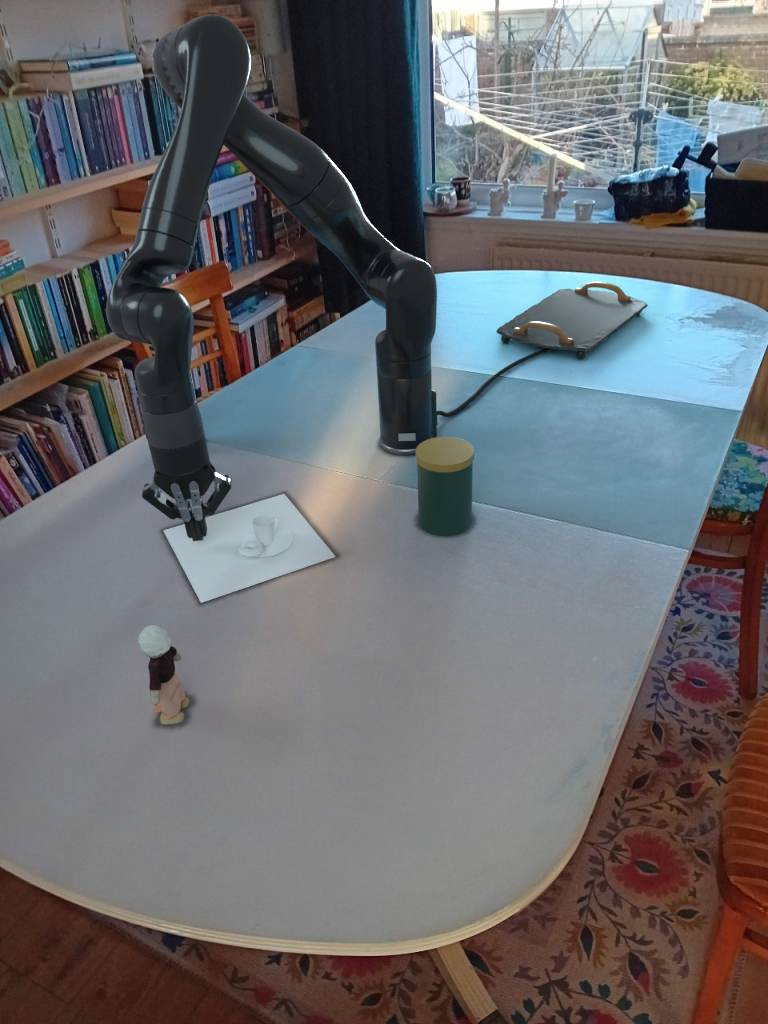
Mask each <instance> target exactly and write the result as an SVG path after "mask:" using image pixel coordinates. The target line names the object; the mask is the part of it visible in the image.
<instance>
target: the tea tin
mask: <svg viewBox="0 0 768 1024" xmlns="http://www.w3.org/2000/svg"><path fill="white" fill-rule="evenodd" d="M415 461H416V466H417V468H416V469H417V470H416V471H417V502H418V503H417V504H418V506H417V507H418V509H417V510H418V523H419V526H420V528H421V529H422V530H424V531H425V532H426V533H429V534H431V535H435V536H442V537H448V536H455V535H458V534H461V533H464V532H465V531H467V530H468V529H469V528H470V527H471V525H472V521H473V469H474V467H473V465H474V463H473V462H474V461H475V448H474V446H473V444H471V443H470V441H469V442H468V441H467V440H465V439H463V438H459V437H454V436H437V437H436V438H431V439H428V440H426V441H423V442H422V443H420V444H419V445H418V446H417V448H416V454H415Z"/></svg>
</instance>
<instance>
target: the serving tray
mask: <svg viewBox="0 0 768 1024" xmlns="http://www.w3.org/2000/svg"><path fill="white" fill-rule="evenodd" d="M590 288H597V289H599V288H600V289H604V290H609V291H603V290H592V289H590ZM610 291H612V292H610ZM648 305H649V304H648V303H647V302H645V301H644V300H641V299H637V298H634V297H632V296H630V295H627V294H626V293H625V292H624V291H623V289H622V288H621V287H620V286H618V285H616V284H613V283H610V282H603V281H590V282H588V283H586V284H584V285H583V286H582V287H575V288H561V289H558V290H557V291H555V292H553V293H552V294H550V295H548V296H547V297H545V298H543V299H542V300H540V301H539V302H538V303H536V304H533V305H532V306H530V307H528V308H527V309H526V310H524V311H523V312H521V313H519V314H517V315H515V317H513V318H512V319H510V320H509V321H507V322H505V323H504V324H502V325H501V326H499V327H498V328H497V329H496V334H497V335H500V341H501V342H502V344H503V345H507V344H509V343H510V342H511V341H515V342H518V343H521V344H525V345H528V346H533V347H538V348H542V349H545V348H549V349H553V350H556V351H557V350H559V351H568V352H569V351H570V352H575V357H576V359H577V360H579V361H582V360H584V359H585V358H586V356H587V352H590V351H592V350H594V349H595V348H596V347H598V346H599V345H601V344H602V343H604V341H605V340H607V339H608V338H609V337H611V336H612V335H613V334H614V333H616V332H618V330H620V328H622V327H623V326H625V325H626V324H627V323H629V322H630V321H631V320H632V319H634V318H635V317H636V316H640V314H642V311H643V310H645V309H646V308H647V307H648Z"/></svg>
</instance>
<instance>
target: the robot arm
mask: <svg viewBox="0 0 768 1024" xmlns="http://www.w3.org/2000/svg"><path fill="white" fill-rule="evenodd" d="M250 51H251V50H250V47H249V44H248V42H247V39H246V37H245V35H244V34H243V32H242V30H241V29H240V28H239V26H238V25H237V24H236V23H234V21H232V20H231V19H229V18H227V17H226V16H223V15H220V14H215V13H214V14H209V13H208V14H205V15H200V16H198V17H195V18H193V19H190V20H188V21H187V22H185V23H183V24H182V25H180V26H178V27H175V28H174V29H172V30H170V31H169V32H167V33H165V34H164V35H163V36H162V37H160V39H159V40H158V41H157V43H156V44H155V47H154V51H153V57H152V58H153V68H154V71H155V72H154V73H155V75H156V78H157V80H158V82H159V85H160V86H161V88H162V89H163V91H164V92H165V94H167V96H168V97H169V98H170V99H171V101H172V102H173V103H174V104H175V105H176V106H177V107H179V108H180V111H179V115H178V118H177V122H176V124H175V128H174V130H173V132H172V135H171V137H170V139H169V142H168V143H167V146H166V147H165V150H164V152H163V154H162V156H161V158H160V160H159V162H158V164H157V167H156V168H155V170H154V173H153V174H152V176H151V179H150V182H149V184H148V186H147V189H146V192H145V194H144V198H143V201H142V202H143V203H142V207H141V212H140V216H139V220H138V225H137V230H136V233H135V240H134V243H133V245H132V246H131V249H130V251H129V252H128V254H127V256H126V258H125V259H124V261H123V262H122V265H121V268H120V269H119V271H118V273H117V275H116V277H115V278H114V280H113V283H112V284H111V288H110V289H109V292H108V294H107V300H106V307H105V308H106V310H105V312H106V313H105V314H106V320H107V323H108V325H109V328H110V330H111V331H112V333H113V334H114V335H115V336H116V337H118V338H119V339H122V340H124V341H127V342H134V343H139V344H140V343H141V344H146V345H151V346H152V347H153V350H154V355H153V356H150V357H149V356H148V357H147V358H144V359H142V360H141V361H140V362H138V363H137V365H135V366H136V367H135V369H134V380H135V384H136V390H137V393H138V394H137V395H138V397H139V402H140V405H141V410H142V411H141V412H142V420H143V421H142V422H143V426H144V435H145V438H146V440H147V443H148V448H149V452H150V457H151V460H152V464H153V468H154V473H153V477H152V481H151V482H149V483H145V484H144V485H143V489H142V493H141V497H142V499H143V500H144V501H146V502H147V503H149V504H150V505H151V506H152V507H154V508H155V509H157V510H158V511H159V512H160V513H162V514H163V515H165V516H166V517H167V518H169V519H170V520H176V519H180V520H182V521H183V524H185V528H186V533H187V536H188V537H189V538H192V540H193V541H201V540H203V537H205V536H206V534H207V524H206V519H205V518H206V517H208V516H213V515H215V513H216V511H218V508H219V507H220V505H221V504H222V503H223V501H224V500H225V498H226V497H227V495H228V494H229V492H230V491H231V490H232V479H233V478H232V476H231V475H230V474H225V475H223V474H220V473H219V472H217V471H216V468H215V466H214V465H213V463H212V462H211V459H210V455H209V449H208V446H207V438H206V435H205V434H206V433H205V429H204V425H203V419H202V414H201V410H200V407H199V406H198V405H199V404H198V401H197V399H196V393H195V388H194V383H193V378H192V374H191V365H192V356H193V355H192V353H193V340H194V329H195V319H194V313H193V310H192V307H191V304H190V303H189V301H188V299H187V298H186V297H185V296H184V295H183V294H182V293H181V292H179V291H178V290H177V289H173V288H169V287H162V284H163V282H164V281H165V279H166V278H168V277H169V276H171V275H175V274H181V273H184V272H186V271H187V270H189V268H190V267H191V264H192V261H193V258H194V253H195V248H196V245H197V240H198V236H199V230H200V227H201V221H202V216H203V213H204V209H205V205H206V204H205V203H206V200H207V196H208V193H209V190H210V186H211V182H212V179H213V176H214V173H215V170H216V167H217V163H218V161H219V159H220V155H221V153H222V149H223V147H225V148H226V149H227V150H228V151H229V152H231V153H232V155H234V157H235V158H236V159H237V160H238V161H239V162H240V163H241V164H242V166H244V167H245V168H246V169H247V170H248V171H249V172H250V173H251V175H253V177H255V178H256V179H257V180H258V181H259V182H260V184H262V185H263V186H264V187H265V188H266V189H267V190H268V192H270V193H271V195H272V196H273V197H274V198H275V199H276V200H277V201H278V203H279V204H280V205H281V206H282V207H283V208H284V209H285V210H286V211H287V212H288V213H289V214H290V215H291V216H292V217H293V218H294V219H295V220H296V221H297V222H298V223H299V225H301V226H302V227H303V228H304V229H305V230H306V231H307V232H308V233H310V234H311V236H313V237H314V238H315V239H316V240H317V241H318V242H319V243H320V244H322V245H323V246H324V247H325V248H327V250H329V251H330V252H332V254H334V255H335V256H336V257H337V258H338V259H339V261H340V262H341V263H342V264H343V265H344V266H345V268H346V269H347V270H348V272H349V273H350V274H351V275H352V277H353V278H354V280H355V281H356V282H357V284H358V285H359V286H360V288H361V289H362V290H363V292H364V293H365V294H366V295H367V297H368V298H369V299H370V300H371V301H372V302H373V303H375V304H376V305H377V306H379V307H380V308H382V309H385V329H384V330H382V331H381V332H379V333H378V334H377V335H376V337H375V339H374V340H375V341H374V346H375V347H374V349H375V350H374V351H375V363H376V364H375V365H376V381H377V401H378V417H379V418H378V419H379V421H378V422H379V444H380V447H381V448H382V449H383V450H384V451H385V452H387V453H390V454H393V455H398V456H410V455H411V456H412V455H416V448H417V446H418V445H419V444H420V443H422V442H423V441H426V440H428V439H431V438H436V437H438V424H439V423H438V416H441V417H443V418H449V417H452V416H454V415H456V414H458V413H459V412H460V413H461V411H462V410H464V409H465V408H467V406H468V405H469V404H472V402H473V401H474V400H475V399H477V397H479V396H480V394H482V392H483V391H484V390H485V389H486V388H487V387H488V386H489V385H490V384H492V383H493V382H494V381H495V380H497V379H498V378H499V377H500V376H502V375H503V374H505V373H506V372H508V371H509V370H511V369H513V368H514V367H516V366H518V365H520V364H522V363H525V362H526V361H529V360H530V359H533V358H535V357H537V356H540V355H542V354H544V353H548V352H550V351H553V350H554V349H549V348H542V349H539V350H537V351H535V352H533V353H530V354H528V355H525V356H523V357H521V358H520V359H517V360H515V361H514V362H512V363H510V364H508V365H507V366H505V367H503V368H502V369H500V370H499V371H498V372H496V373H495V374H493V375H492V376H491V377H490V378H489V379H488V380H486V381H485V382H484V383H483V384H482V385H481V386H480V387H479V389H478V390H476V392H475V393H473V394H472V396H470V397H469V398H467V400H465V401H464V402H462V404H461V405H459V406H458V407H457V408H455V409H453V410H451V411H448V412H445V411H443V410H437V392H436V390H435V389H433V387H432V386H433V385H432V381H433V380H432V379H433V378H432V342H433V339H434V337H435V334H436V328H437V306H438V304H437V303H438V285H437V279H436V274H435V272H434V269H433V267H432V266H431V265H430V263H428V262H427V261H425V260H423V259H421V258H419V257H417V256H414V255H412V254H411V253H408V252H405V251H403V250H402V249H399V248H398V247H396V246H395V245H394V244H393V243H392V242H390V241H389V240H388V239H387V237H385V236H384V235H383V234H382V233H381V232H380V231H378V229H377V228H376V227H375V226H374V225H373V224H372V223H371V221H370V220H369V219H368V217H367V216H366V214H365V212H364V209H363V207H362V205H361V202H360V200H359V197H358V195H357V193H356V191H355V190H354V187H353V186H352V184H351V183H350V181H349V179H348V178H347V177H346V176H345V174H344V173H343V172H342V171H341V169H339V167H338V166H337V165H336V164H335V162H333V160H332V159H331V158H330V157H329V156H328V154H327V153H326V152H325V151H324V150H323V149H322V148H321V147H320V146H319V145H317V144H316V143H315V142H314V141H312V140H311V139H310V138H308V137H307V136H305V135H303V134H302V133H300V132H299V131H298V130H296V129H294V128H292V127H290V126H288V125H286V124H285V123H282V122H281V121H279V120H277V119H275V118H274V117H272V116H271V115H269V114H267V113H266V112H265V111H263V110H262V109H260V107H258V105H256V104H255V103H254V102H252V100H251V99H249V97H248V96H247V95H246V94H245V90H246V88H247V85H248V82H249V78H250V74H251V68H252V58H251V52H250ZM212 483H214V484H213V488H214V490H213V491H212V493H211V495H210V496H209V498H208V499H207V501H206V502H204V500H203V499H204V498H203V496H205V495H206V493H207V491H208V490H209V488H210V487H211V485H212ZM162 491H163V492H164V493H163V492H162ZM168 496H169V497H170V498H169V497H168ZM172 499H173V500H172ZM190 500H191V501H190Z"/></svg>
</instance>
